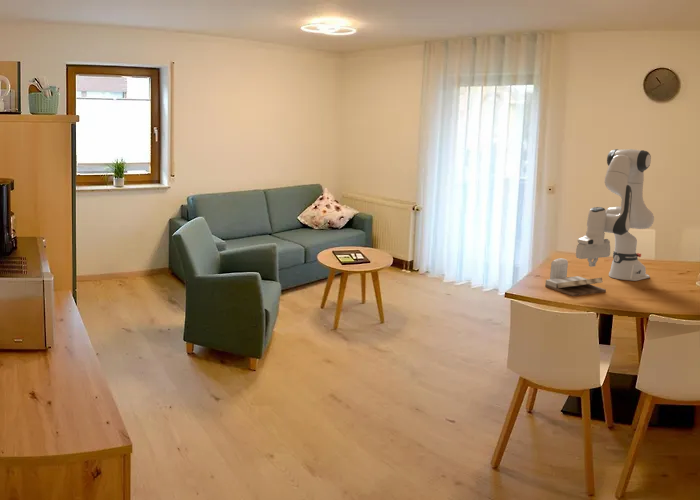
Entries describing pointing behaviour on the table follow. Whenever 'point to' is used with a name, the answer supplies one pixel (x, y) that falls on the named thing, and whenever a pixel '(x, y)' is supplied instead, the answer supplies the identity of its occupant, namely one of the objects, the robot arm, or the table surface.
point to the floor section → (574, 289)
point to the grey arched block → (559, 268)
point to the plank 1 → (571, 283)
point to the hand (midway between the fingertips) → (592, 266)
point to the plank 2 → (593, 281)
